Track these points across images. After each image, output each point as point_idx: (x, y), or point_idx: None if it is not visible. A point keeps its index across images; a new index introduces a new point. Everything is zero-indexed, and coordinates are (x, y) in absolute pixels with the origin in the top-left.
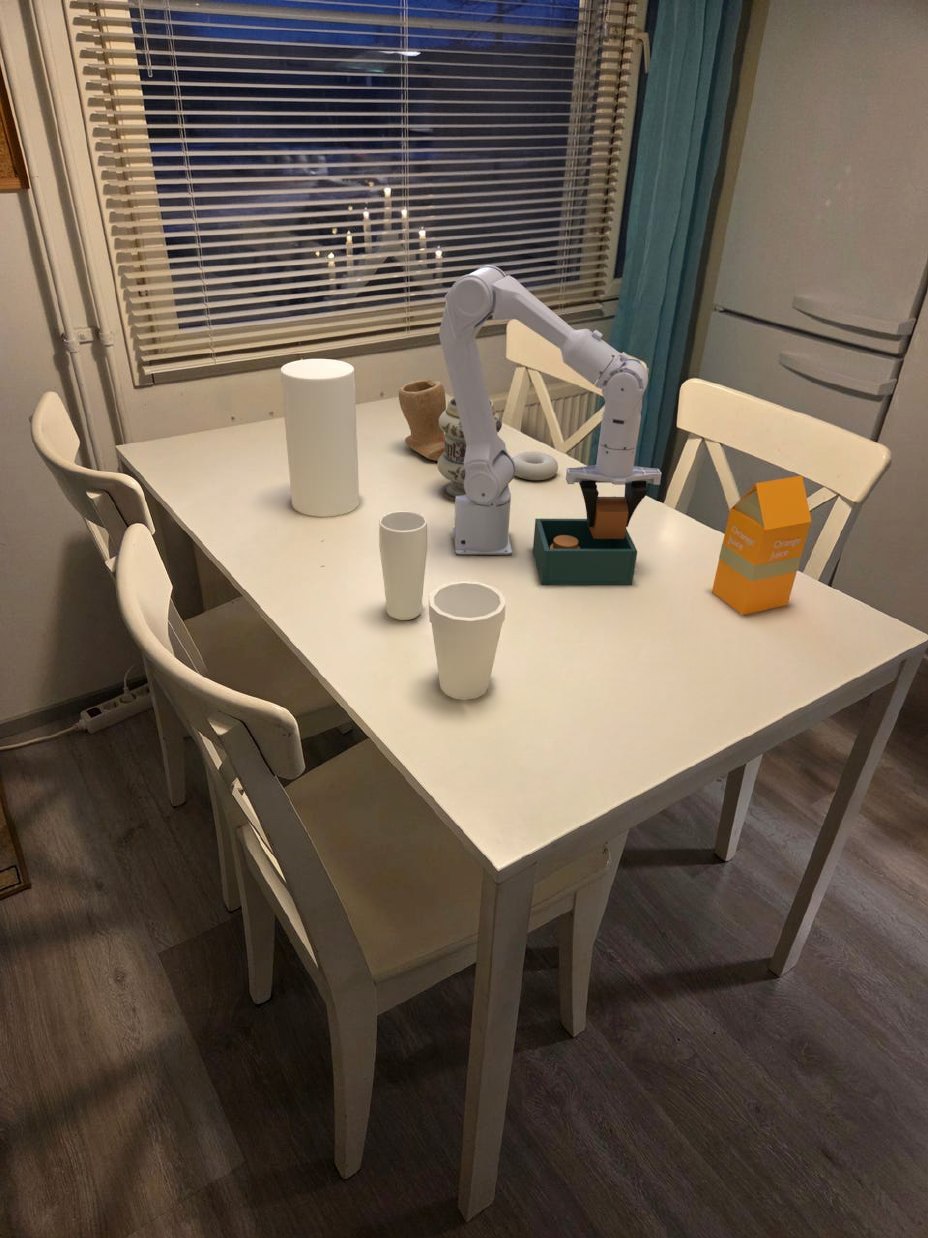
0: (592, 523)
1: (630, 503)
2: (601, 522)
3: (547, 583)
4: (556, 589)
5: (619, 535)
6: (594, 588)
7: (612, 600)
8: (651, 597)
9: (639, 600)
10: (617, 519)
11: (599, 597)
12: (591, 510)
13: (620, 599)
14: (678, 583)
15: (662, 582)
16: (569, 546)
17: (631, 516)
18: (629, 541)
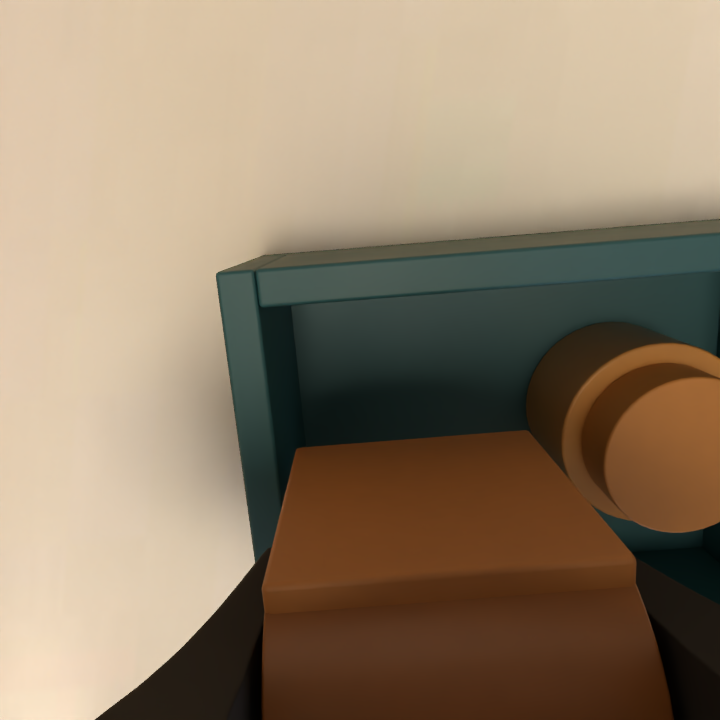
0: None
1: (227, 696)
2: (527, 494)
3: (714, 219)
4: (668, 176)
5: (337, 453)
6: (465, 204)
7: (386, 77)
8: (171, 128)
9: (239, 89)
10: (376, 524)
11: (452, 106)
12: (679, 600)
13: (341, 92)
14: (16, 293)
15: (100, 297)
16: (680, 379)
17: (226, 599)
18: (261, 422)
